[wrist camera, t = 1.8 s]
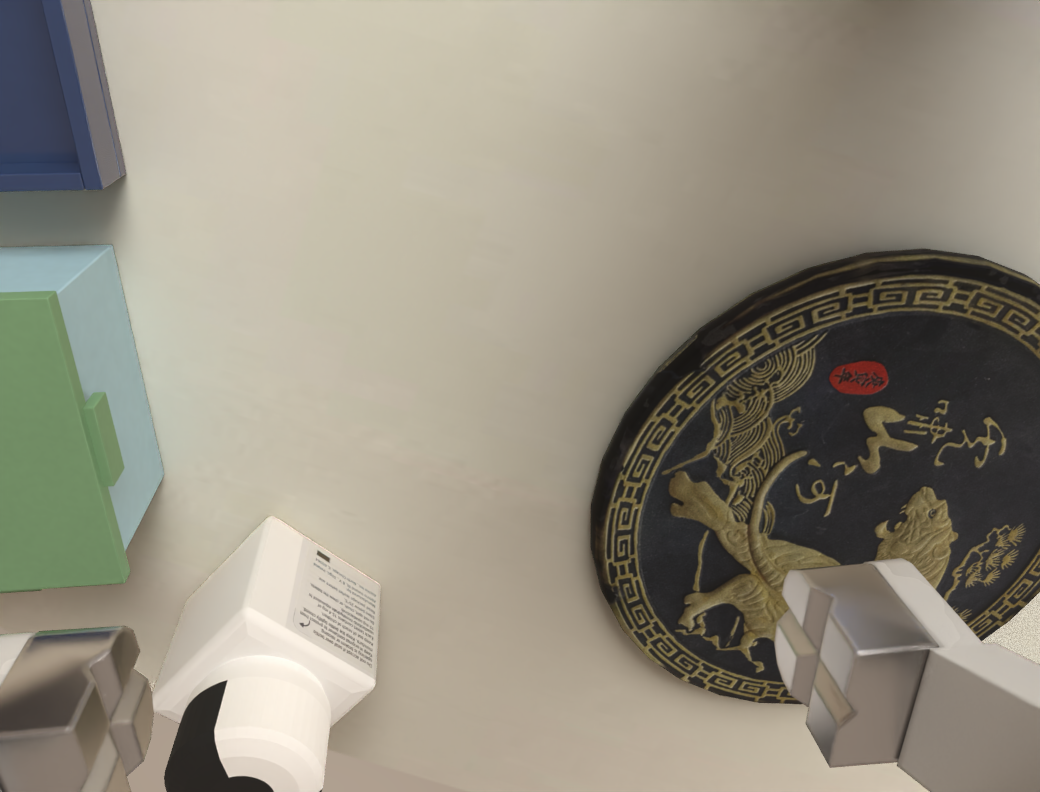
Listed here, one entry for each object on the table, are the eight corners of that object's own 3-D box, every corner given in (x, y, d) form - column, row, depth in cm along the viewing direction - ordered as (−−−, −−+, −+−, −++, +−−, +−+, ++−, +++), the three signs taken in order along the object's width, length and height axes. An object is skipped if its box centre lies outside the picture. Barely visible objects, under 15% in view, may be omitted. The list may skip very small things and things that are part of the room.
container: (298, 663, 48) (261, 879, 36) (184, 599, 45) (104, 812, 33) (384, 583, 46) (374, 784, 34) (270, 510, 43) (218, 703, 31)
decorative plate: (709, 191, 36) (1237, 326, 42) (696, 181, 38) (1205, 313, 44) (531, 681, 49) (957, 729, 55) (527, 658, 50) (941, 707, 57)
